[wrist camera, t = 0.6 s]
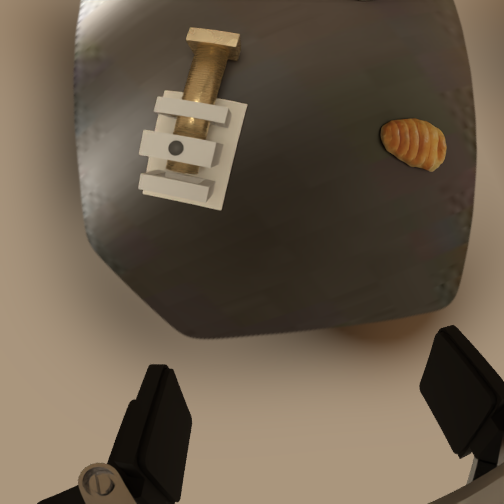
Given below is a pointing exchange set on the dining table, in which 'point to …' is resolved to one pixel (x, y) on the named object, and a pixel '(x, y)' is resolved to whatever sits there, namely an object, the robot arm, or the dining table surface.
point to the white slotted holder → (191, 151)
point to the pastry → (415, 143)
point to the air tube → (204, 82)
